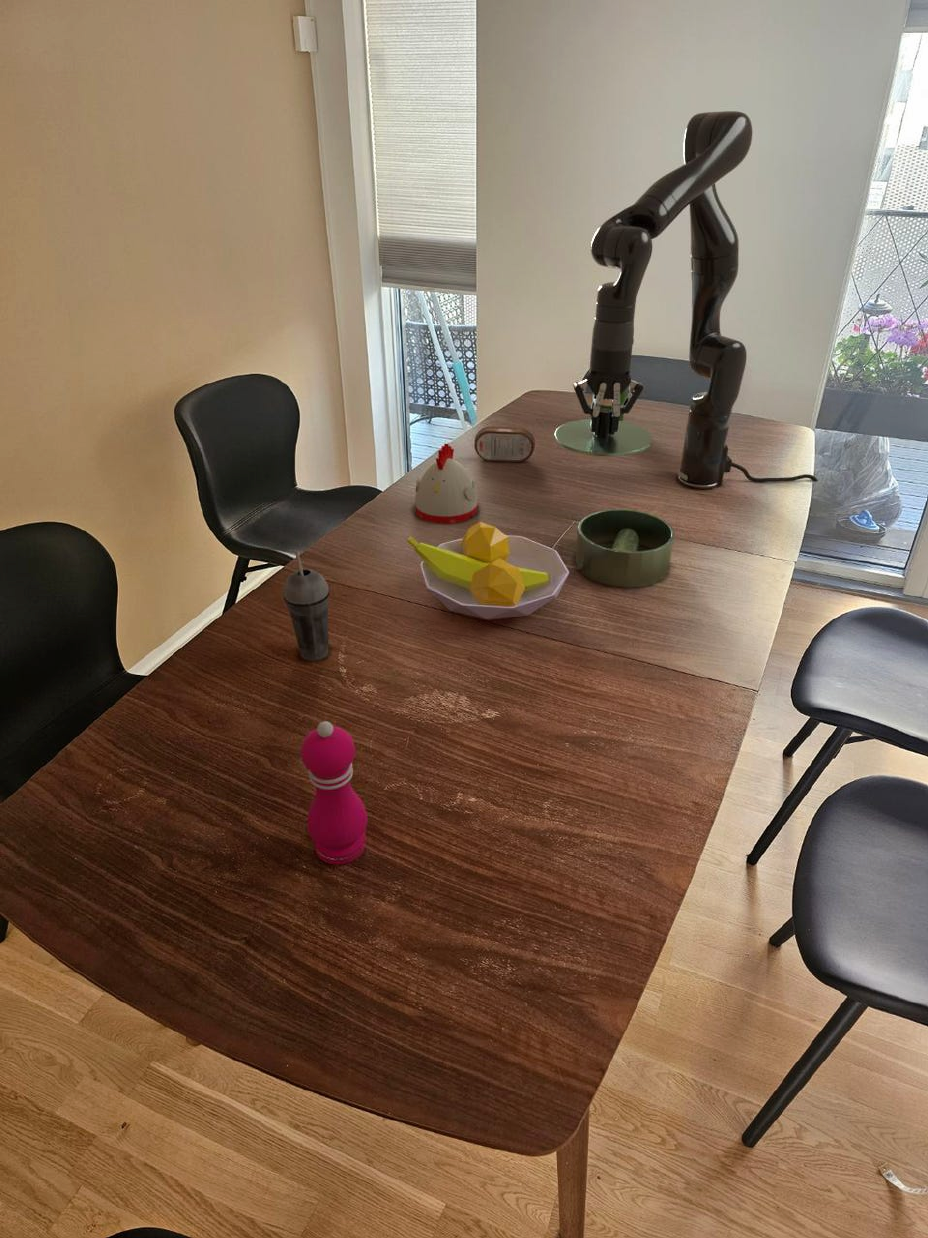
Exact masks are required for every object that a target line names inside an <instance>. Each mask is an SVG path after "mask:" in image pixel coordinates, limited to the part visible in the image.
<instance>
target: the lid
mask: <svg viewBox="0 0 928 1238" xmlns="http://www.w3.org/2000/svg"><path fill="white" fill-rule="evenodd" d="M598 416H599V417H600V418H599V429H598V435H594V434H593V432H591V429H590V420H591V419H590V418H585V419H584V418H583V419H578V420H573V421H568V422H566V423H564V424H562V425H560V426H558V428H556V430H555V431H554V440H555V441H556V443H557V444H559V445H560V446H561V447H563V448H565V449H567V450H569V451H572V452H575V453H578V454H583V455H587V456H593V457H624V456H631V455H636V454H639V453H641V452H643V451H646V450H648V449H649V448H650V446H651V445H652V443H653V437H652V434H651V433H650V431H648V430H646V429H645V428H644V427H641V426H640V425H637V424H634V423H632V422H628V421H624V420H623V421H619V424H618V430H617V432H615V433H614V435H610V429H611V419H612V410H611V409H606V408H603V409H600V411H599V415H598Z"/></svg>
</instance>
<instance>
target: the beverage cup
mask: <svg viewBox="0 0 928 1238" xmlns="http://www.w3.org/2000/svg"><path fill="white" fill-rule="evenodd" d="M294 555H295V559H296V563H297V567H298V568H297V569H298V570H296V571H295V570H294V572H293V573H291V574H290V575H289V576H288V578H287V579H286V581H285V583H284V588H283V600H284V602H285V604H286V608H287V609H288V611H289V615H290V620H291V623H292V627H293V631H294V635H295V639H296V643H297V646H298V649H299V652H300V656H301V657H302V659H304V660H305V661H312V662H313V661H319V660H322V659H324V658H326V657H327V656H328V654H329V609H328V608H329V607H328V606H329V600H330V597H329V596H330V592H331V591H330V589H329V585H328V583H327V581H326V580H325V578H324V576H322V574H321V573H320V572H318V571H316V570H314V569H310V568H303V566H302V561H301V558H300V557H301V556H300V553H299V550H298V549H295V550H294Z"/></svg>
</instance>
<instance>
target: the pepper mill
mask: <svg viewBox="0 0 928 1238" xmlns="http://www.w3.org/2000/svg"><path fill="white" fill-rule="evenodd" d="M300 753H301V755H300V756H301V760H302V763H303V765H304V766H305V768H306V769H307V771H308V777H309V781H310V783H311V784H312V785H313V786H314V787H315V796H314V798H313V799H312V802H311V805H310V806H309V807H310V808H309V810H308V814H307V819H306V820H307V830H308V834H309V836H310V838H311V839H312V840H313V842H314V843H313V844H314V849H315V853H316V855H317V857H318V858H319V859H320V860H321V861H322V862H325V863H327V864H330V865H334V866H335V865H336V866H337V865H339V866H341V865H345V864H346V865H347V864H349V863H352V862H353V861H355V860H357V859H358V858H359V857H360V856H361V855H362V854H363V853H364V851H365V849H366V845H367V840H366V829H367V827H368V822H369V821H368V814H367V810H366V807H365V805H364V803H363V800H362V799H361V798H360V796H359V795H358V794H357V793H356V792H355V790H354V789H353V788H352V786H351V782H350V780H351V779H352V778H353V774H354V769H353V761H354V759H355V754H356V748H355V743H354V740H353V739H352V736H351V734H349V733H348V731H346V729H343V728H342V727H339V726H335V725H333V724H332V723H331V722H330V721H325V720H324V721H321V722H320V723H319V724H318V725H317V728H314V729H313V730H312V731H311V730H310V732H309V733H308V734H307V735H306V737H305V738H304V740H303V741H302V745H301V752H300ZM364 841H365V843H364ZM363 843H364V846H363V847H362V849H361V850H360V851H359V852H358V853H357V854H355V855H354V856H352V857H350V858H347V859H343V860H330V859H327V858H325V857H323V856H321V855H320V854H319V853H318V852H320V853H321V854H322V855H324V856H326V857H330V858H334V859H336V858H338V859H340V858H345V857H348V856H351V855H353V854H354V853H356V852H357V851H358V850H359V849H360V848H361V846H362V845H363ZM315 847H316V848H315ZM316 849H317V850H318V852H317V850H316Z"/></svg>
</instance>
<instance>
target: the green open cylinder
mask: <svg viewBox="0 0 928 1238" xmlns="http://www.w3.org/2000/svg"><path fill="white" fill-rule="evenodd" d="M623 529H632V530H634V531H635V532H636V533H637V535H638V538H639V545H641V546H644V547H647V548H649V549H647V550H641V551H639V550H637V552H628V551H618V550H613V549H611V548H608V547H604V546H602V545H600V544H599V543H605V542H614V540H615V538H616V536H617V534H618V533H619V532H620V531H621V530H623ZM674 539H675V531H674V529H673V527H672V525H670V524H669V523H668V522H667V521H666V520H664V519H662V517H661V518H660V517H659V516H657V515H654V514H651V513H649V512H645V511H642V510H641V511H640V510H635V509H627V508H626V509H625V508H612V509H603V510H598V511H597V512H592V513H590V514H588V515H586V516H585V517H583V518H582V519H581V520H580V522H579V523H578V527H577V539H576V549H575V562H576V565H577V567H578V568H579V569H578V570H579V572H580V573H581V574H582V575H584V576H585V577H586V578H588V579H590V580H591V581H593V582H596V583H598V584H601V585H606V586H609V587H615V588H625V589H626V588H627V589H628V588H629V589H635V588H643V587H648V586H651V585H652V586H653V585H655V584H657V583H659V582H661V581H662V580H664V579H665V577H667V575H668V573H669V570H670V566H671V559H672V553H673V547H674V541H675V540H674Z"/></svg>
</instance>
